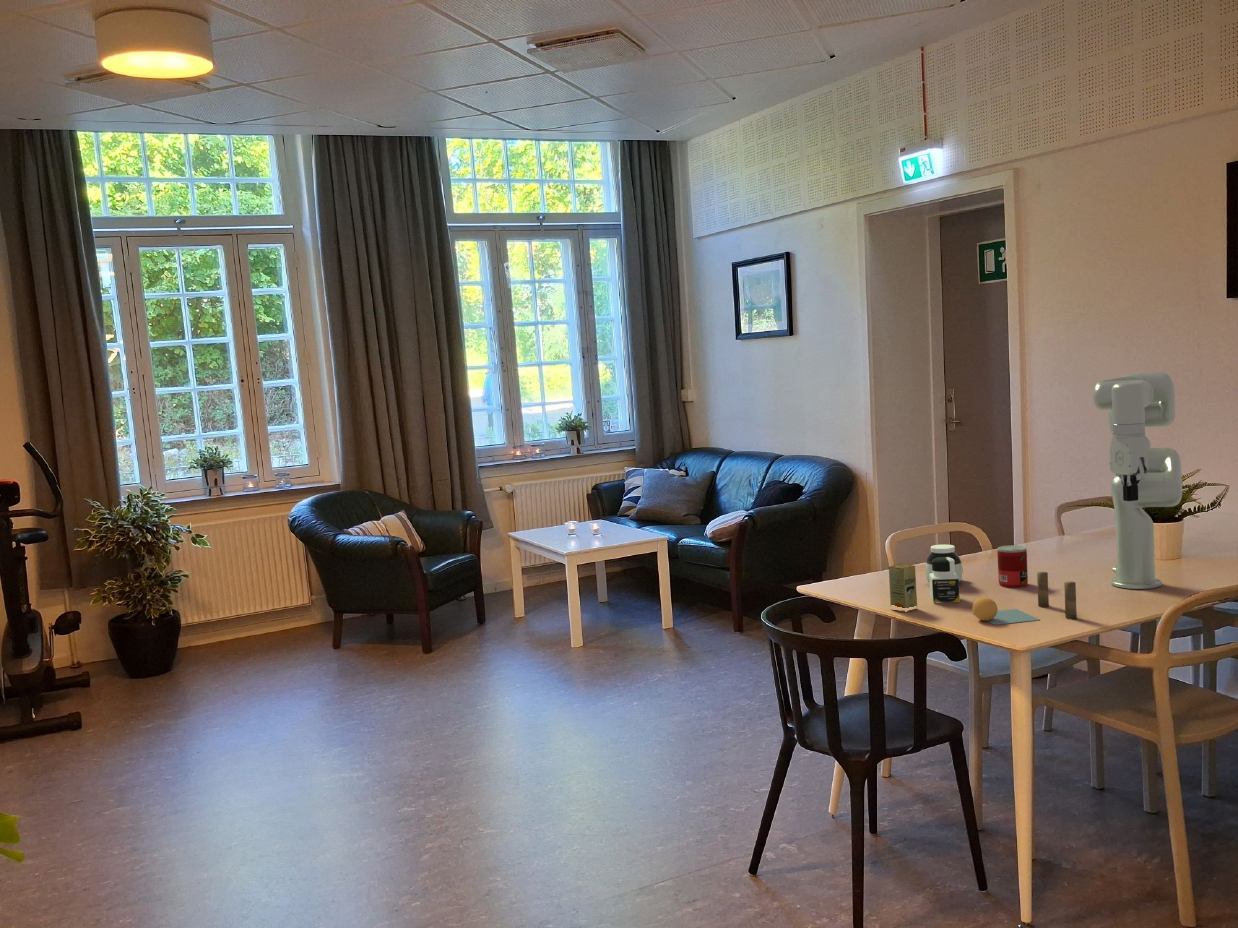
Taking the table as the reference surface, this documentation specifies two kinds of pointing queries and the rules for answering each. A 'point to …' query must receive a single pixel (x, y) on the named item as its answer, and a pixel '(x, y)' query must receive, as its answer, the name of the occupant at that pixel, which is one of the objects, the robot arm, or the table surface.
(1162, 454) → the robot arm
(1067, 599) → the post
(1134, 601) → the table surface
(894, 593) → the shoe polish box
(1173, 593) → the table surface
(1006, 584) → the canned food
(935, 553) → the spread jar
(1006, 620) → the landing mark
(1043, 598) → the post
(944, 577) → the medicine bottle
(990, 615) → the ball
